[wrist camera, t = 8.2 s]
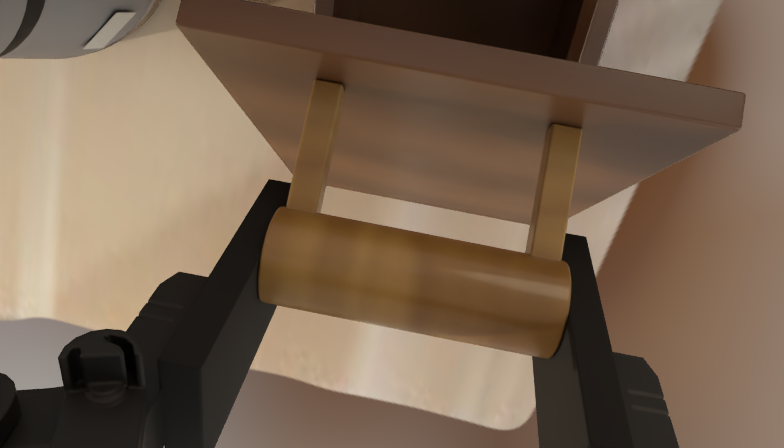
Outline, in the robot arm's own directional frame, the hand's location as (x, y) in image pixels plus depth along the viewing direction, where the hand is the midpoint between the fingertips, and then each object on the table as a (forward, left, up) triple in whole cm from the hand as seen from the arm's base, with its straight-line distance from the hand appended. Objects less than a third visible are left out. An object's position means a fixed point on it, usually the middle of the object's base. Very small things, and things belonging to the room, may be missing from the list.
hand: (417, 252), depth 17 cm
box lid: (0, 0, -6) cm, 6 cm away
